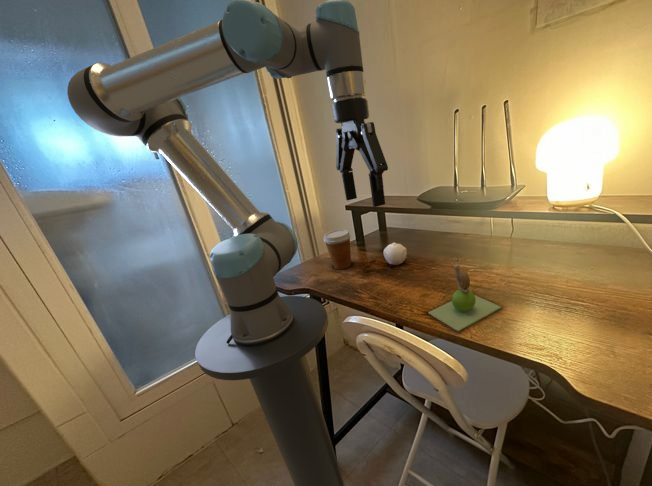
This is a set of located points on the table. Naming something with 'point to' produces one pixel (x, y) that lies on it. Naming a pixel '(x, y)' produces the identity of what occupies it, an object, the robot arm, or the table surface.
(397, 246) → the garlic bulb
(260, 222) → the robot arm
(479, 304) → the edge mat
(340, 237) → the disposable coffee cup
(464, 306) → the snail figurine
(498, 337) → the table surface
